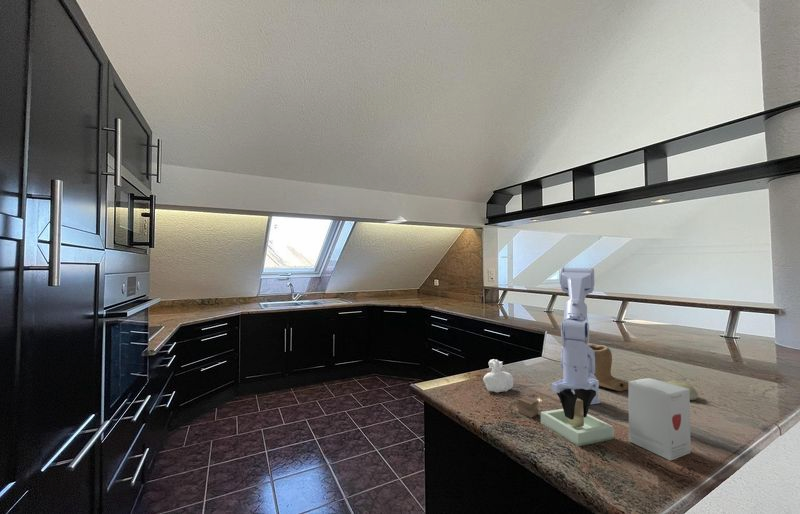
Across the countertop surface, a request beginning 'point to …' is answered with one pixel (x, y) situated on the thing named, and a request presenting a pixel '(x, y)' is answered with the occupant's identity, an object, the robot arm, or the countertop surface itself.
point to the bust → (497, 378)
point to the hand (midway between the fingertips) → (575, 416)
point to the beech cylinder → (577, 415)
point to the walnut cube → (528, 406)
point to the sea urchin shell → (691, 390)
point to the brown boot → (606, 369)
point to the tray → (577, 428)
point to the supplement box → (659, 417)
